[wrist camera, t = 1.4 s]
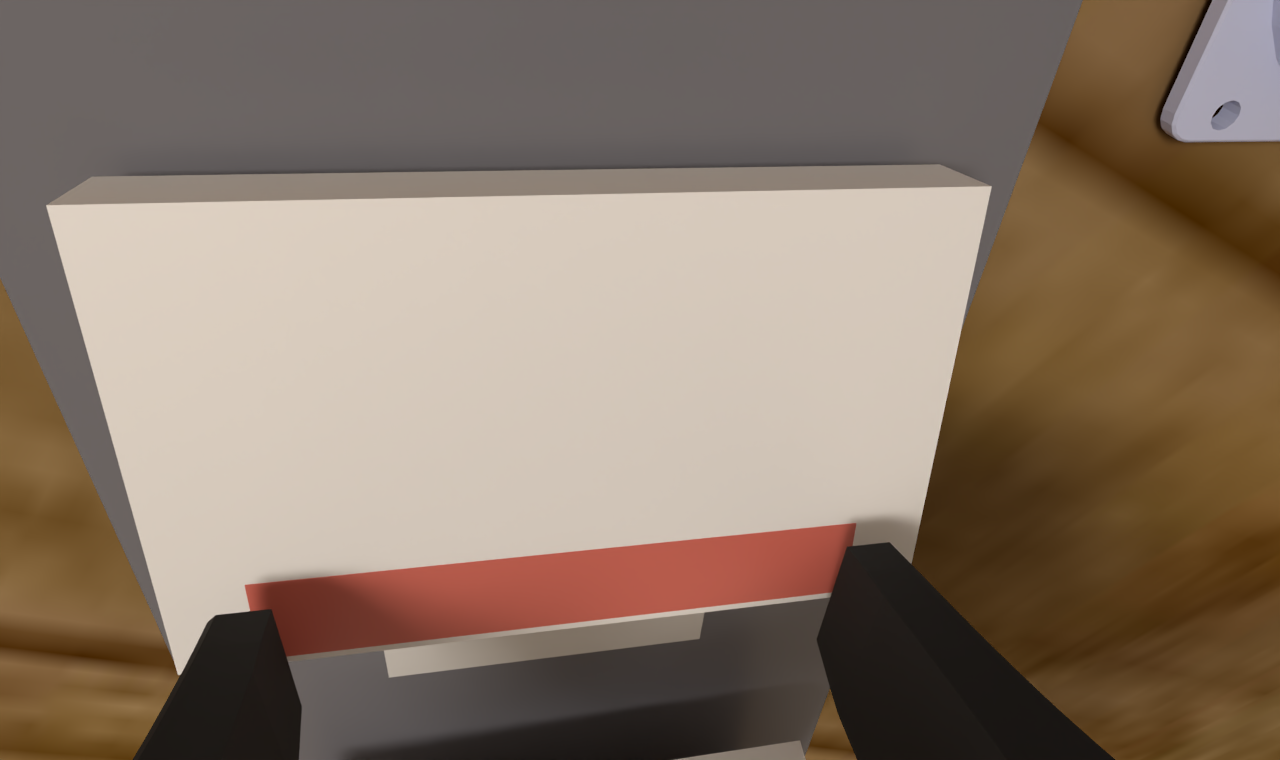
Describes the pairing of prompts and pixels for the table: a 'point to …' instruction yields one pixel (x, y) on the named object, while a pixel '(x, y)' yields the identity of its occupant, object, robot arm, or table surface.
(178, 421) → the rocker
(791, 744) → the rocker
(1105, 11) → the table surface
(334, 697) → the rocker switch panel
